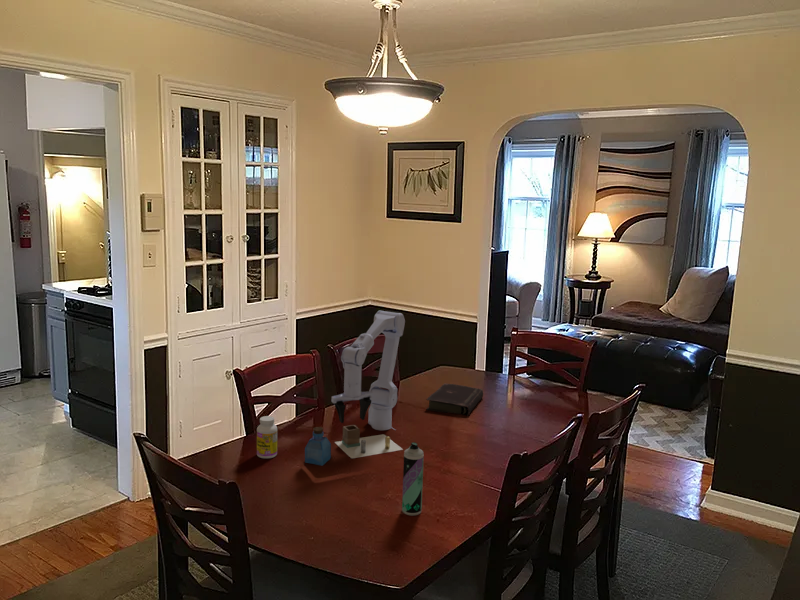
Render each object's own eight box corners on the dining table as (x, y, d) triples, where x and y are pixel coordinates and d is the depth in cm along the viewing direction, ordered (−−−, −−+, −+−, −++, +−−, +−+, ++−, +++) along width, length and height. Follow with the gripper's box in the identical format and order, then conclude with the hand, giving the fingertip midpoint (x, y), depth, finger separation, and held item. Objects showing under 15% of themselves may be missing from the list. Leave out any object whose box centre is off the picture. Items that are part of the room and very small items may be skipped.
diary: (483, 399, 290) (484, 388, 289) (468, 418, 267) (469, 406, 266) (441, 393, 297) (442, 382, 296) (423, 410, 273) (424, 398, 273)
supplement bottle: (252, 457, 222) (252, 419, 220) (264, 449, 229) (263, 413, 226) (270, 460, 220) (270, 423, 218) (281, 453, 226) (281, 416, 224)
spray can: (401, 506, 192) (403, 439, 189) (420, 506, 193) (422, 439, 189) (402, 515, 187) (405, 447, 183) (422, 515, 187) (425, 447, 184)
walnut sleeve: (341, 442, 233) (342, 426, 232) (354, 440, 236) (354, 424, 235) (347, 447, 229) (347, 431, 228) (360, 445, 231) (360, 429, 230)
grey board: (334, 445, 234) (334, 442, 234) (383, 437, 243) (383, 434, 243) (351, 461, 221) (351, 458, 221) (403, 452, 230) (403, 449, 229)
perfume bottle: (330, 461, 221) (331, 426, 219) (322, 469, 215) (322, 433, 213) (313, 458, 223) (313, 424, 221) (304, 466, 217) (305, 430, 215)
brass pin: (384, 447, 230) (384, 436, 230) (388, 447, 231) (388, 436, 230) (386, 449, 229) (386, 438, 228) (390, 448, 230) (390, 437, 229)
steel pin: (360, 451, 226) (360, 440, 226) (364, 451, 227) (364, 439, 226) (361, 453, 225) (362, 442, 224) (366, 452, 226) (366, 441, 225)
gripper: (337, 387, 221) (336, 427, 224) (377, 382, 228) (376, 421, 231) (329, 381, 228) (328, 420, 230) (368, 377, 234) (367, 414, 237)
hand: (352, 420), depth 231 cm, fingers open, 7 cm apart
